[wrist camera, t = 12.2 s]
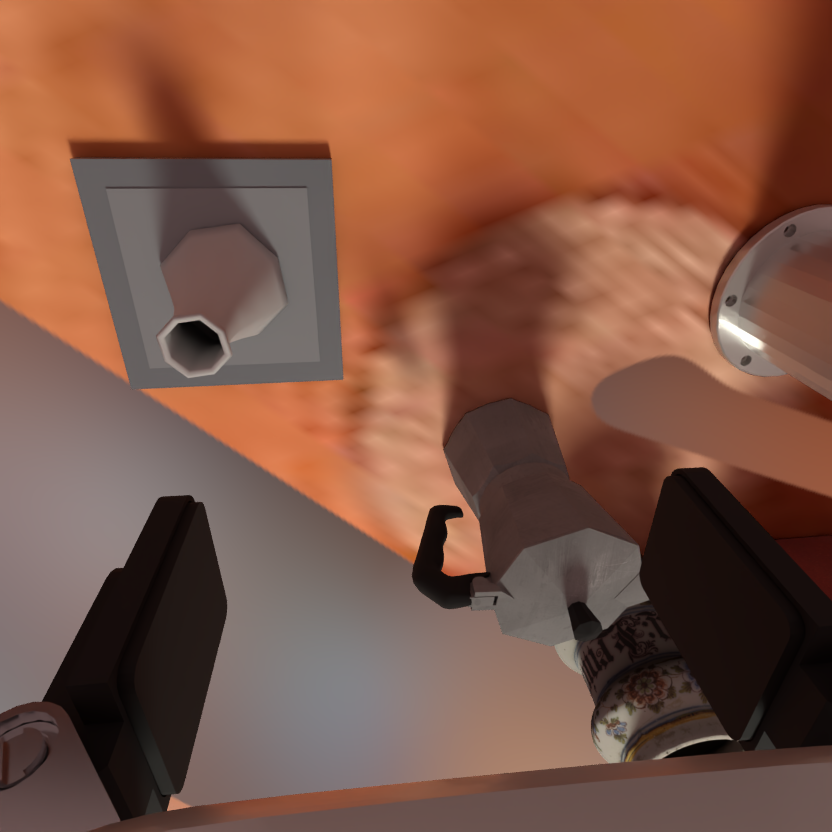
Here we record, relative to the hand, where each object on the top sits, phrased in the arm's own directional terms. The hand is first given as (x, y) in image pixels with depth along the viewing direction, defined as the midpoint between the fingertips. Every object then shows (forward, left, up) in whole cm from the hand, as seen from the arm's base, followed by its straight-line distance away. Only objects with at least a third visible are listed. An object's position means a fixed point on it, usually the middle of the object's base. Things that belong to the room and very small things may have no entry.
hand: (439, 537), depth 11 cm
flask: (+9, +2, -27) cm, 28 cm away
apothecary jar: (-21, +32, -28) cm, 48 cm away
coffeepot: (-9, +16, -28) cm, 34 cm away
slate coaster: (+9, +2, -28) cm, 29 cm away
